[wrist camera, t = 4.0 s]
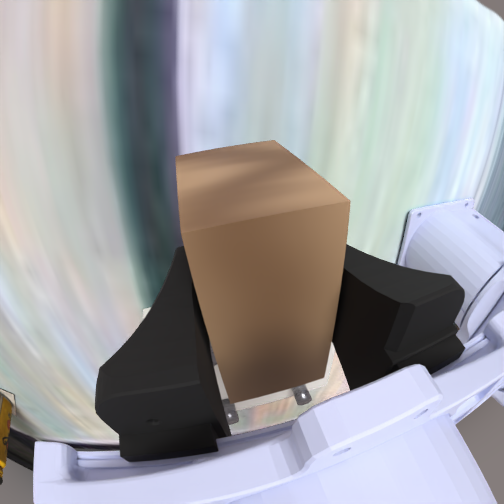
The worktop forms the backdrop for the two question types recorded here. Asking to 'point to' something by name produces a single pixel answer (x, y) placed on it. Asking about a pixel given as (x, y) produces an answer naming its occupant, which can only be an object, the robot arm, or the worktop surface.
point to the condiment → (5, 425)
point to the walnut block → (263, 262)
